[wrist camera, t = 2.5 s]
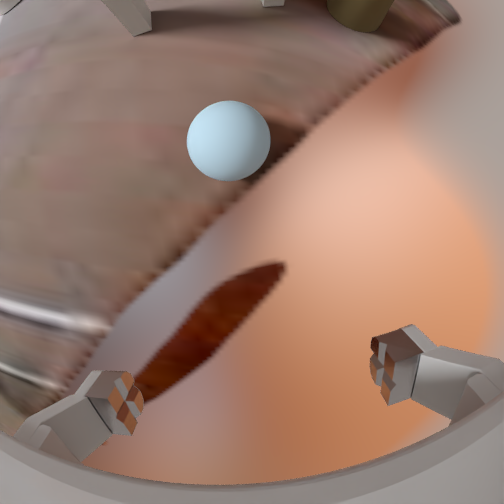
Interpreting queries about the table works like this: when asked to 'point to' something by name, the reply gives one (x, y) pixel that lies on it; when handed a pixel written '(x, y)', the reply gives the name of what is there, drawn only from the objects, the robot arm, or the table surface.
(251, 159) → the ball
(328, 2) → the olive tall rounded piece
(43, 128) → the table surface
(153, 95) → the table surface
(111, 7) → the bridge
